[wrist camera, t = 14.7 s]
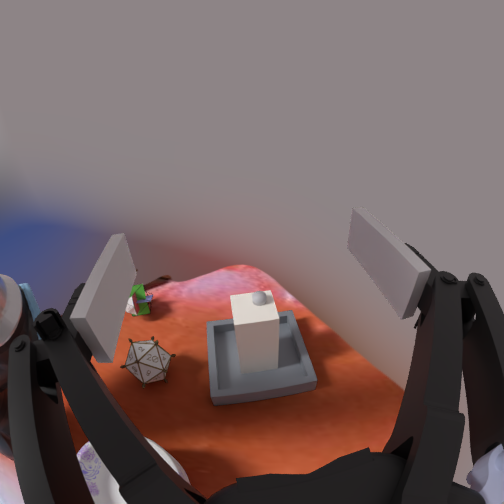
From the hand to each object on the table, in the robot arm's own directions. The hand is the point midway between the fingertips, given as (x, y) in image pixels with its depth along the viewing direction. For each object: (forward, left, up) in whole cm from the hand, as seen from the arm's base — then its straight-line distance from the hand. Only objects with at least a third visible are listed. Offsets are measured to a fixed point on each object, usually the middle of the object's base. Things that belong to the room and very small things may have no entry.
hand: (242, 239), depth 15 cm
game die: (-16, +14, -32) cm, 38 cm away
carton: (+2, +15, -31) cm, 34 cm away
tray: (+2, +15, -32) cm, 35 cm away
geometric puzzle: (-21, +31, -32) cm, 49 cm away
